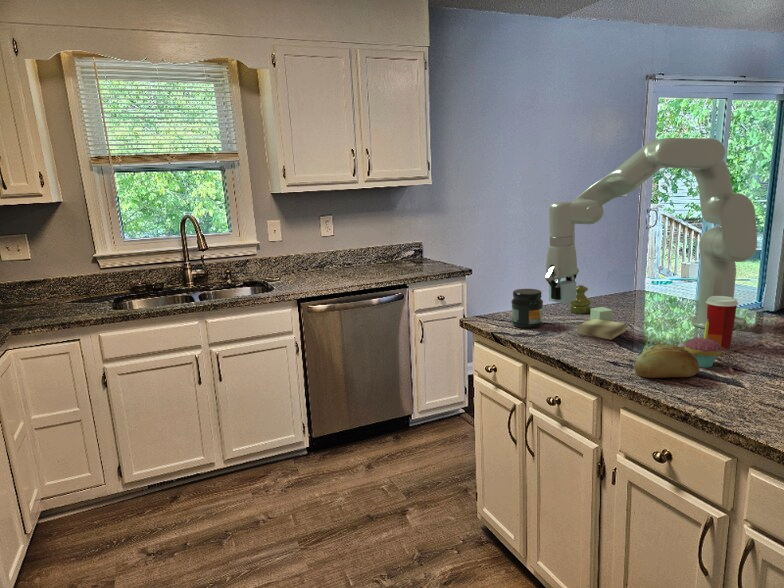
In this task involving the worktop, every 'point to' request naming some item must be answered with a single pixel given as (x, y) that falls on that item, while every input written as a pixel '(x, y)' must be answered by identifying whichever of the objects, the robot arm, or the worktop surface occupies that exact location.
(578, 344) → the worktop surface
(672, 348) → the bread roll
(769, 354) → the worktop surface
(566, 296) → the blue cube
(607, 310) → the sage block
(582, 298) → the olive pawn figure
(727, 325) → the paper cup
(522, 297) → the supplement container
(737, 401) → the worktop surface
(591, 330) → the maple slab
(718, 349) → the cupcake
